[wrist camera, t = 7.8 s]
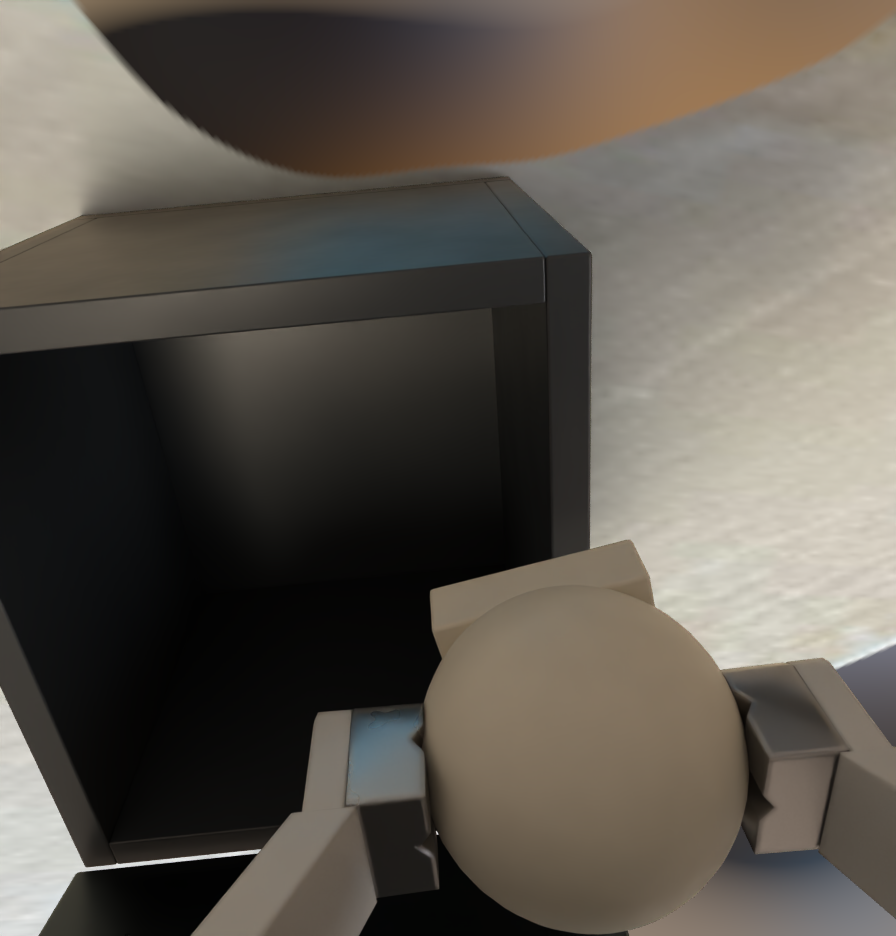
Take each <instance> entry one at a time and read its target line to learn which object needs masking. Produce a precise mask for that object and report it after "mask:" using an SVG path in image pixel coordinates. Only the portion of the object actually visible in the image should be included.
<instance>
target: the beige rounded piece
mask: <svg viewBox="0 0 896 936" xmlns="http://www.w3.org/2000/svg"><path fill="white" fill-rule="evenodd" d="M430 604H431V621H432V632H433V635H434V638H435V640H436V643H437V646H438V649H439V652H440V654H441V657H442V660H441V662H440V664H439V666H438V668H437V670H436V672H435V674H434V676H433V679H432V681H431V683H430V685H429V688H428V691H427V694H426V697H425V700H424V704H423V705H424V707H423V708H424V738H423V744H422V751H423V752H424V755H425V761H426V768H427V774H428V782H429V792H430V812H431V816H432V818H433V821H434V825H435V828H436V830H437V832H438V834H439V836H440V838H441V841H442V843H443V844H444V846H445V847H446V849H447V850H448V852H449V853H450V855H451V856H452V858H453V859H454V860H455V862H456V863H457V865H458V866H459V867H460V869H461V870H462V871H463V872H464V873H465V874H466V875H467V876H468V877H469V878H470V879H471V880H472V882H473V883H474V884H475V885H476V886H477V887H478V888H479V889H480V890H481V891H483V892H484V893H485V894H487V895H488V896H489V897H491V898H492V899H493V900H495V901H496V902H497V903H499V904H500V905H501V906H503V907H504V908H506V909H507V910H509V911H511V912H513V913H514V914H516V915H518V916H520V917H523V918H525V919H527V920H529V921H531V922H534V923H536V924H539V925H541V926H544V927H548V928H551V929H555V930H561V931H566V932H572V933H580V934H610V933H617V932H623V931H628V930H632V929H635V928H639V927H642V926H645V925H648V924H650V923H653V922H655V921H657V920H659V919H661V918H663V917H665V916H667V915H669V914H670V913H672V912H673V911H675V910H677V909H678V908H680V907H681V906H682V905H684V904H685V903H686V902H688V901H689V900H690V899H692V898H693V897H694V896H695V895H696V894H698V892H700V891H701V890H702V889H703V888H704V886H705V885H706V884H707V883H708V882H709V880H710V879H711V878H712V877H713V875H714V874H715V873H716V872H717V871H718V869H719V868H720V867H721V865H722V864H723V862H724V860H725V859H726V857H727V855H728V853H729V851H730V849H731V847H732V845H733V843H734V841H735V838H736V836H737V834H738V832H739V828H740V825H741V822H742V818H743V814H744V810H745V806H746V802H747V795H748V784H749V761H748V752H747V744H746V739H745V734H744V733H745V729H744V725H743V721H742V717H741V714H740V711H739V708H738V705H737V703H736V700H735V698H734V696H733V694H732V692H731V690H730V687H729V685H728V683H727V681H726V679H725V677H724V676H723V674H722V672H721V671H720V669H719V668H718V666H717V665H716V663H715V661H714V660H713V658H712V657H711V656H710V655H709V653H708V652H707V651H706V650H705V649H704V647H703V646H702V645H701V644H700V643H699V642H698V641H697V640H696V639H695V638H694V636H693V635H692V634H691V633H690V632H688V631H687V630H686V629H685V628H684V627H683V626H681V625H680V624H679V623H678V622H676V621H675V620H674V619H672V618H671V617H670V616H668V615H667V614H666V613H664V612H662V611H661V610H659V609H657V608H656V607H655V605H654V599H653V593H652V588H651V582H650V577H649V574H648V572H647V570H646V568H645V566H644V564H643V562H642V560H641V558H640V556H639V554H638V552H637V550H636V548H635V546H634V544H633V542H632V541H631V540H624V541H620V542H616V543H612V544H608V545H605V546H601V547H597V548H593V549H589V550H585V551H581V552H577V553H573V554H569V555H565V556H561V557H557V558H553V559H549V560H545V561H542V562H538V563H534V564H530V565H526V566H522V567H518V568H514V569H510V570H506V571H502V572H498V573H494V574H490V575H486V576H482V577H479V578H475V579H471V580H467V581H463V582H459V583H455V584H451V585H447V586H443V587H439V588H435V589H432V590H431V591H430Z"/></svg>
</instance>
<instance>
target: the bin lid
mask: <svg viewBox="0 0 896 936" xmlns="http://www.w3.org/2000/svg"><path fill="white" fill-rule="evenodd" d="M436 836H437V843H438V867H439V889H437V890H430V891H423V892H415V893H408V894H401V895H394V896H387V897H380V898H376V900H377V903H376V905H375V907H374V909H373V911H372V912H371V914H370V916H369V918H368V920H367V922H366V923H365V925H364V927H363V929H362V931H361V933H360V935H359V936H629V934H628V931H623V932H617V933H610V934H580V933H572V932H566V931H561V930H555V929H551V928H548V927H544V926H541V925H539V924H536V923H534V922H531V921H529V920H527V919H525V918H523V917H520V916H518V915H516V914H514V913H513V912H511V911H509V910H507V909H506V908H504V907H503V906H501V905H500V904H499V903H497V902H496V901H495V900H493V899H492V898H491V897H489V896H488V895H487V894H485V893H484V892H483V891H481V890H480V889H479V888H478V887H477V886H476V885H475V884H474V883H473V882H472V880H471V879H470V878H469V877H468V876H467V875H466V874H465V873H464V872H463V871H462V870H461V869H460V867H459V866H458V865H457V863H456V862H455V860H454V859H453V858H452V856H451V855H450V853H449V852H448V850H447V849H446V847H445V846H444V844H443V843H442V841H441V838H440V836H439V835H436ZM256 856H257V854H250V855H240V856H230V857H221V858H211V859H202V860H192V861H182V862H173V863H163V864H154V865H144V866H135V867H125V868H115V869H106V870H96V871H87V872H79V873H77V874H76V875H75V876H74V878H73V880H72V881H71V883H70V885H69V886H68V888H67V890H66V891H65V893H64V895H63V896H62V898H61V899H60V901H59V903H58V904H57V906H56V908H55V909H54V911H53V913H52V914H51V916H50V918H49V919H48V921H47V923H46V924H45V926H44V928H43V929H42V931H41V933H40V934H39V936H191V935H192V933H193V932H194V931H195V930H196V929H197V927H198V926H199V925H200V924H201V922H202V921H203V920H204V919H205V918H206V916H207V915H208V914H209V913H210V912H211V910H212V909H213V908H214V907H215V905H216V904H217V903H218V902H219V901H220V899H221V898H222V897H223V896H224V894H225V893H226V892H227V891H228V890H229V888H230V887H231V886H232V885H233V884H234V882H235V881H236V880H237V879H238V877H239V876H240V875H241V874H242V873H243V871H244V870H245V869H246V868H247V866H248V865H249V864H250V863H251V862H252V860H253V859H254V858H255V857H256Z"/></svg>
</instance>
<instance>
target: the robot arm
mask: <svg viewBox="0 0 896 936" xmlns="http://www.w3.org/2000/svg"><path fill="white" fill-rule="evenodd" d="M720 671H721V672H722V674H723V676H724V677H725V679H726V681H727V683H728V685H729V687H730V690H731V692H732V694H733V696H734V698H735V700H736V703H737V705H738V708H739V711H740V714H741V717H742V721H743V725H744V729H745V733H744V734H745V739H746V744H747V752H748V761H749V784H748V795H747V802H746V806H745V810H744V814H743V818H742V822H741V826H742V828H743V830H744V832H745V834H746V837H747V839H748V841H749V843H750V845H751V847H752V850H753V852H754V854H763V853H775V852H786V851H799V850H810V849H811V850H812V849H819V853H820V854H821V855H823V857H825V858H826V859H827V860H828V861H829V862H830V863H832V864H833V865H834V866H835V867H836V868H837V869H838V870H840V871H841V872H842V873H843V874H844V875H845V876H847V877H848V878H849V879H850V880H851V881H852V882H854V883H855V884H856V885H857V886H858V887H859V888H860V889H862V890H863V891H864V892H865V893H866V894H867V895H869V896H870V897H871V898H872V899H873V900H874V901H876V902H877V903H878V904H879V905H880V906H881V907H883V908H884V909H885V910H886V911H887V912H888V913H890V914H891V915H892V916H893V917H894V918H895V919H896V747H892V745H891V744H890V743H889V741H887V739H886V737H885V736H884V735H883V734H882V732H881V731H880V729H879V728H878V727H877V725H876V724H875V723H874V721H873V720H872V719H871V717H870V716H869V715H868V713H867V712H866V710H865V709H864V708H863V707H862V705H861V704H860V702H859V701H858V700H857V698H856V697H855V696H854V694H853V693H852V692H851V690H850V689H849V688H848V686H847V685H846V684H845V682H844V681H843V680H842V678H841V677H840V676H839V674H838V673H837V671H836V670H835V669H834V667H833V666H832V665H831V663H830V662H828V661H827V660H825V659H824V658H815V659H807V660H799V661H790V662H786V663H774V664H765V665H757V666H749V667H740V668H732V669H723V670H720ZM423 707H424V705H423V703H415V704H403V705H391V706H379V707H367V708H355V709H353V710H341V711H328V712H318V714H317V716H316V718H315V721H314V726H313V733H312V741H311V748H310V756H309V763H308V771H307V778H306V786H305V793H304V801H303V808H302V812H297V813H291V814H290V815H289V817H288V818H287V819H286V820H285V821H284V823H283V824H282V825H281V826H280V828H279V829H278V830H277V831H276V832H275V834H274V835H273V836H272V837H271V838H270V840H269V841H268V842H267V843H266V845H265V846H264V847H263V848H262V849H261V851H260V852H259V853H258V854H257V856H256V857H255V858H254V859H253V860H252V862H251V863H250V864H249V865H248V866H247V868H246V869H245V870H244V871H243V873H242V874H241V875H240V876H239V877H238V879H237V880H236V881H235V882H234V884H233V885H232V886H231V887H230V888H229V890H228V891H227V892H226V893H225V894H224V896H223V897H222V898H221V899H220V901H219V902H218V903H217V904H216V905H215V907H214V908H213V909H212V910H211V912H210V913H209V914H208V915H207V916H206V918H205V919H204V920H203V921H202V922H201V924H200V925H199V926H198V927H197V929H196V930H195V931H194V932H193V933H192V935H191V936H359V935H360V933H361V931H362V929H363V927H364V925H365V923H366V922H367V920H368V918H369V916H370V914H371V912H372V911H373V909H374V907H375V905H376V903H377V900H376V898H380V897H387V896H394V895H401V894H408V893H415V892H423V891H430V890H437V889H439V867H438V843H437V836H436V829H435V825H434V821H433V818H432V816H431V812H430V792H429V782H428V774H427V768H426V761H425V755H424V752H423V751H422V744H423V738H424V708H423Z"/></svg>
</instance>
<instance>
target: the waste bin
mask: <svg viewBox="0 0 896 936" xmlns="http://www.w3.org/2000/svg"><path fill="white" fill-rule="evenodd" d="M591 319H592V254H591V252H590V251H589V250H587V249H586V248H585V247H584V246H583V245H582V244H581V243H580V242H579V241H578V240H577V239H575V238H574V237H573V236H572V235H571V234H570V233H569V232H568V231H567V230H566V229H564V228H563V227H562V226H561V225H560V224H559V223H558V222H557V221H556V220H555V219H554V218H552V217H551V216H550V215H549V214H548V213H547V212H546V211H545V210H544V209H543V208H541V207H540V206H539V205H538V204H537V203H536V202H535V201H534V200H533V199H532V198H531V197H529V196H528V195H527V194H526V193H525V192H524V191H523V190H522V189H521V188H520V187H518V186H517V185H516V184H515V183H514V182H513V181H512V180H511V179H510V178H509V177H496V178H485V179H474V180H464V181H453V182H442V183H431V184H421V185H410V186H399V187H388V188H377V189H367V190H356V191H345V192H334V193H324V194H313V195H302V196H291V197H280V198H270V199H259V200H248V201H237V202H227V203H216V204H205V205H194V206H183V207H173V208H162V209H151V210H140V211H130V212H119V213H108V214H97V215H86V216H79V217H77V218H75V219H73V220H71V221H68V222H65V223H63V224H61V225H59V226H56V227H54V228H52V229H49V230H47V231H45V232H42V233H40V234H38V235H35V236H33V237H31V238H28V239H26V240H24V241H21V242H19V243H17V244H15V245H12V246H10V247H8V248H5V249H3V250H1V251H0V687H1V689H2V691H3V693H4V695H5V698H6V700H7V702H8V704H9V706H10V708H11V710H12V712H13V715H14V717H15V719H16V721H17V723H18V725H19V727H20V729H21V731H22V734H23V736H24V738H25V740H26V742H27V744H28V746H29V748H30V751H31V753H32V755H33V757H34V759H35V761H36V763H37V765H38V768H39V770H40V772H41V774H42V776H43V778H44V780H45V782H46V784H47V787H48V789H49V791H50V793H51V795H52V797H53V799H54V801H55V804H56V806H57V808H58V810H59V812H60V814H61V816H62V818H63V821H64V823H65V825H66V827H67V829H68V831H69V833H70V835H71V837H72V840H73V842H74V844H75V846H76V848H77V850H78V852H79V854H80V857H81V859H82V861H83V863H84V865H85V867H95V866H104V865H114V864H116V863H118V864H122V863H132V862H142V861H151V860H161V859H170V858H180V857H189V856H199V855H209V854H218V853H228V852H237V851H247V850H257V849H262V848H263V847H264V846H265V845H266V843H267V842H268V841H269V840H270V838H271V837H272V836H273V835H274V834H275V832H276V831H277V830H278V829H279V828H280V826H281V825H282V824H283V823H284V821H285V820H286V819H287V818H288V817H289V815H290V814H291V813H297V812H302V808H303V801H304V793H305V786H306V778H307V771H308V763H309V756H310V748H311V741H312V733H313V726H314V721H315V718H316V716H317V714H318V712H328V711H341V710H353V709H355V708H367V707H379V706H391V705H403V704H415V703H423V704H424V700H425V697H426V694H427V691H428V688H429V685H430V683H431V681H432V679H433V676H434V674H435V672H436V670H437V668H438V666H439V664H440V662H441V660H442V657H441V654H440V652H439V649H438V646H437V643H436V640H435V638H434V635H433V632H432V621H431V604H430V591H431V590H432V589H435V588H439V587H443V586H447V585H451V584H455V583H459V582H463V581H467V580H471V579H475V578H479V577H482V576H486V575H490V574H494V573H498V572H502V571H506V570H510V569H514V568H518V567H522V566H526V565H530V564H534V563H538V562H542V561H545V560H549V559H553V558H557V557H561V556H565V555H569V554H573V553H577V552H581V551H585V550H589V549H590V451H591ZM435 829H436V828H435ZM436 831H437V830H436Z"/></svg>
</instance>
